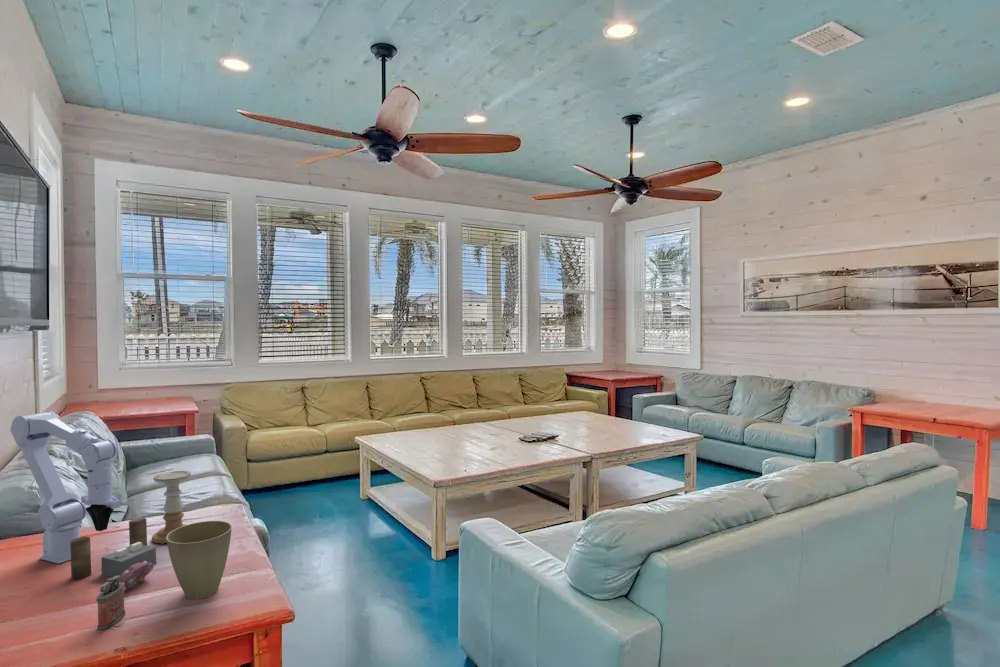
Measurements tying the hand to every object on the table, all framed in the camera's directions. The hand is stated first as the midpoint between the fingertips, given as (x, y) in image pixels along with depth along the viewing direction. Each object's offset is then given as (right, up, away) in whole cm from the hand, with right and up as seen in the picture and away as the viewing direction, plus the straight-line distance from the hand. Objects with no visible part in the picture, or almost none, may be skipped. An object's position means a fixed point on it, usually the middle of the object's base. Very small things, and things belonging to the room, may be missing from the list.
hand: (101, 529), depth 165 cm
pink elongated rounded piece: (+18, -10, -14) cm, 25 cm away
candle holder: (+10, -9, +19) cm, 23 cm away
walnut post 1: (+1, -10, -9) cm, 13 cm away
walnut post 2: (+7, -9, +6) cm, 13 cm away
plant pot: (+39, -10, -19) cm, 44 cm away
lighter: (+25, -10, -32) cm, 42 cm away
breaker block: (+11, -10, -4) cm, 15 cm away
